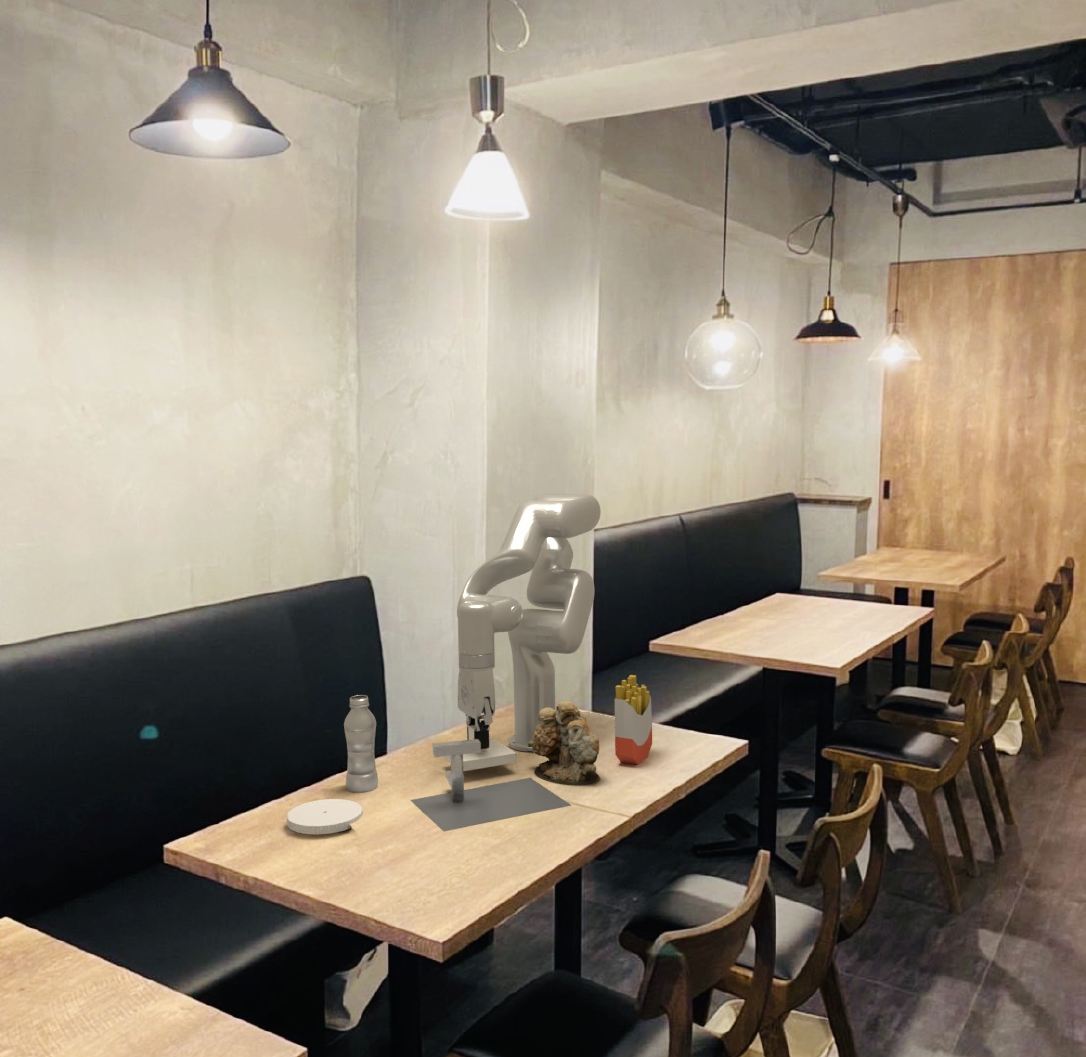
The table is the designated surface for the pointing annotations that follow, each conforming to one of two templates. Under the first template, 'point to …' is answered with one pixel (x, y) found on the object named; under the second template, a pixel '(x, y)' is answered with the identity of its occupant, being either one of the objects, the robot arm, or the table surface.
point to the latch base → (489, 804)
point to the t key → (456, 762)
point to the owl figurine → (565, 746)
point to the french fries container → (632, 722)
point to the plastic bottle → (360, 746)
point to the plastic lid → (324, 816)
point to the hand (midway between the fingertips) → (478, 745)
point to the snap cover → (486, 755)
